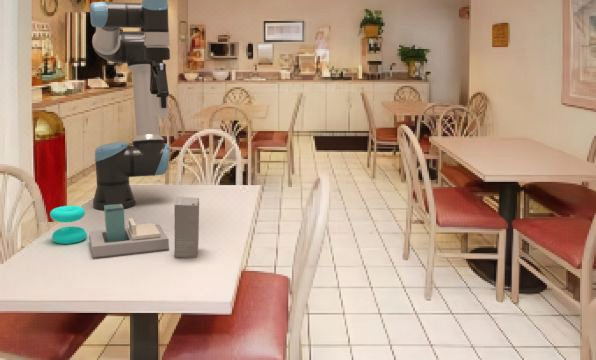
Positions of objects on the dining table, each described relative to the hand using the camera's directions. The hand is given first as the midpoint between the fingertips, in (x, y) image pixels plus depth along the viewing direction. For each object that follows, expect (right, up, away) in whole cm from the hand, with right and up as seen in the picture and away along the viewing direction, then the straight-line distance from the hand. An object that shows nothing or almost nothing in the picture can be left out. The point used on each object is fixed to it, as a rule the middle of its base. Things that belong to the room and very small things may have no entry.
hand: (160, 116), depth 193 cm
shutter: (-3, -35, -8) cm, 36 cm away
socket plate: (-7, -39, -9) cm, 41 cm away
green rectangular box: (-11, -39, -10) cm, 42 cm away
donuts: (-27, -38, -3) cm, 47 cm away
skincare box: (+11, -41, -15) cm, 45 cm away
